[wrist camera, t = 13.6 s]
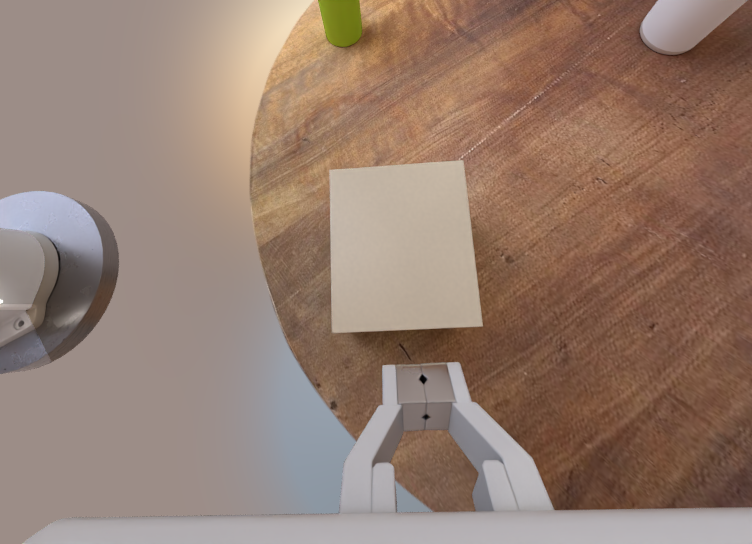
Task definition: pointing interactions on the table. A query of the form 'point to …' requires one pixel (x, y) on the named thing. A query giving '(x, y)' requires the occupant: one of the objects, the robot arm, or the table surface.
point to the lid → (402, 249)
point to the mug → (683, 23)
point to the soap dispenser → (341, 21)
